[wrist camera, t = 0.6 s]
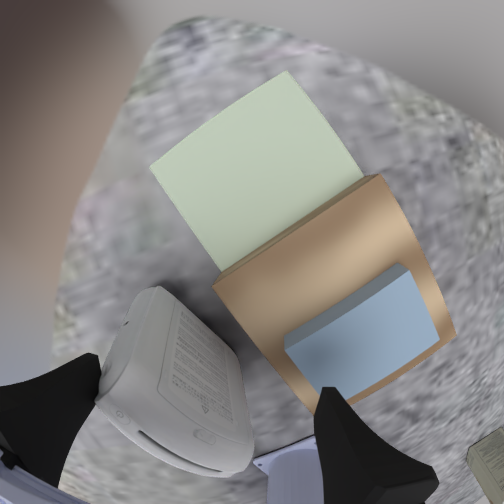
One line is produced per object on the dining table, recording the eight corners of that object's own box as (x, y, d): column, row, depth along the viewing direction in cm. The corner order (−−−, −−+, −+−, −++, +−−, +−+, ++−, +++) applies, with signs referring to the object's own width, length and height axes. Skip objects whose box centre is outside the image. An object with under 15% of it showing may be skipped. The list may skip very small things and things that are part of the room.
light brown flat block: (435, 316, 23) (456, 335, 19) (314, 393, 25) (318, 421, 21) (363, 176, 21) (380, 173, 17) (222, 271, 23) (211, 286, 19)
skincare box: (465, 461, 26) (493, 516, 14) (468, 446, 26) (500, 504, 14) (498, 441, 25) (530, 489, 13) (503, 424, 25) (539, 475, 13)
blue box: (428, 327, 19) (439, 339, 17) (326, 392, 20) (329, 408, 18) (397, 262, 18) (409, 269, 16) (283, 335, 20) (284, 350, 18)
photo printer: (121, 307, 22) (69, 421, 10) (156, 273, 22) (115, 384, 10) (209, 381, 25) (219, 499, 14) (245, 355, 25) (274, 475, 13)
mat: (363, 176, 21) (364, 176, 21) (222, 271, 23) (221, 271, 23) (286, 71, 20) (286, 70, 20) (150, 167, 22) (148, 167, 22)
